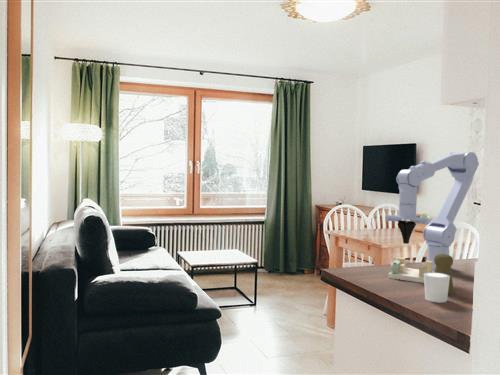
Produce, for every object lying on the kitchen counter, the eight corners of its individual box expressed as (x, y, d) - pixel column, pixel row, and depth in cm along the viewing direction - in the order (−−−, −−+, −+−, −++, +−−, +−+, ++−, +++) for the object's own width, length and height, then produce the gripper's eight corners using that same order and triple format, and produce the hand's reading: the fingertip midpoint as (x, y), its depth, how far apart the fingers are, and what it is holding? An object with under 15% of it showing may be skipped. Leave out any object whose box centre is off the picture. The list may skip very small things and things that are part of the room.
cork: (455, 294, 131) (457, 257, 131) (433, 293, 133) (434, 256, 132) (451, 289, 137) (452, 253, 137) (429, 288, 138) (430, 252, 138)
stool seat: (398, 271, 161) (398, 257, 160) (434, 275, 154) (434, 261, 154) (388, 277, 151) (388, 262, 150) (426, 283, 144) (426, 267, 144)
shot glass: (417, 296, 129) (418, 272, 129) (438, 295, 131) (439, 271, 130) (433, 304, 122) (433, 278, 122) (454, 302, 124) (455, 277, 124)
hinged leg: (397, 273, 149) (398, 263, 149) (390, 272, 150) (390, 263, 150) (400, 268, 157) (400, 258, 157) (393, 267, 158) (393, 258, 158)
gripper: (383, 203, 157) (381, 242, 158) (427, 206, 150) (425, 247, 150) (389, 202, 163) (387, 239, 164) (431, 205, 156) (430, 244, 156)
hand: (406, 243), depth 157 cm, fingers closed
